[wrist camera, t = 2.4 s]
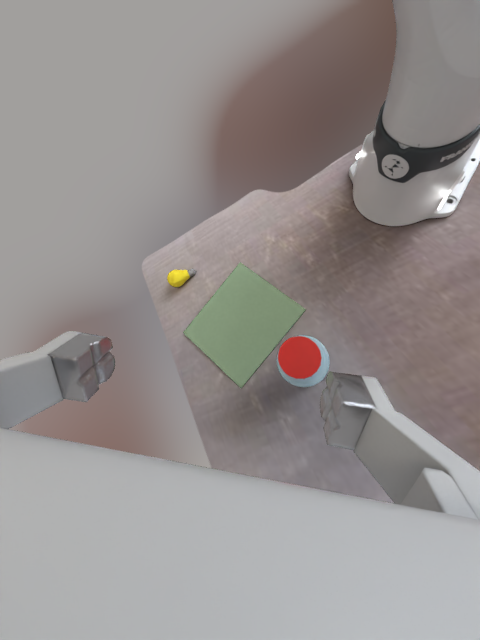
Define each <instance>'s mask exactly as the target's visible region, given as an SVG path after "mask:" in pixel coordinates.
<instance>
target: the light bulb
mask: <svg viewBox="0 0 480 640" xmlns="http://www.w3.org/2000/svg"><path fill="white" fill-rule="evenodd" d="M195 273H196V271H195V270H194V269H190V270H188V271H187V270H172V271H171V272H170V273H169V274H168V277H167V280H168V282H169V284H170V285H171V286H173V287H180V286H182V285H183V284H184V283H185V281H186V280H187V279H189V278H190V277H191V276H194V275H195Z"/></svg>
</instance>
